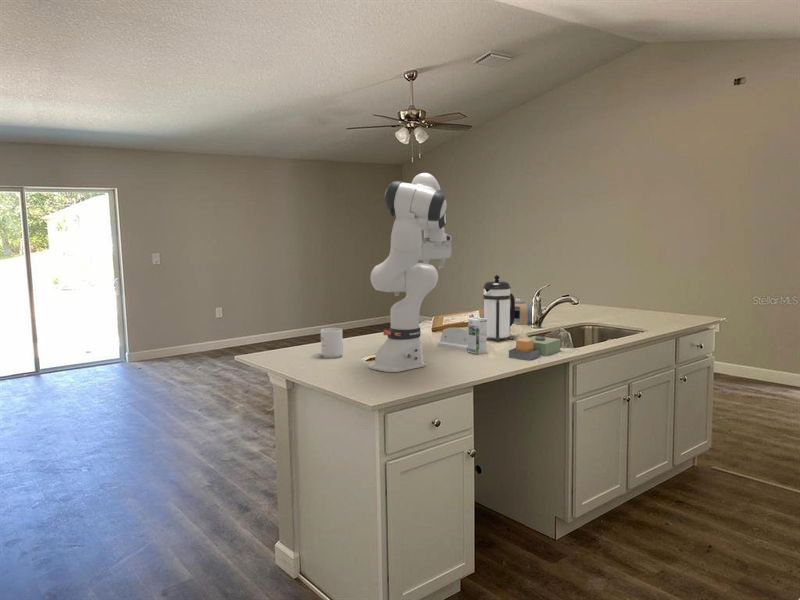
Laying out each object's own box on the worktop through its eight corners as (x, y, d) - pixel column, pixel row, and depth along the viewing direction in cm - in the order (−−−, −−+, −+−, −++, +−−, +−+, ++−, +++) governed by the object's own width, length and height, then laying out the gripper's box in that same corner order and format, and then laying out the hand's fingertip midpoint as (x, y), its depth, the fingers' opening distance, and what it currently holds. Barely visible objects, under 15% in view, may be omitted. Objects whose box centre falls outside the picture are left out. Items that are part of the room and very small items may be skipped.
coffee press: (515, 342, 273) (516, 276, 270) (479, 342, 276) (480, 276, 272) (514, 335, 290) (515, 273, 287) (480, 335, 293) (481, 273, 289)
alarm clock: (494, 323, 327) (494, 301, 325) (512, 319, 342) (513, 297, 340) (526, 327, 314) (526, 304, 313) (543, 322, 330) (544, 300, 328)
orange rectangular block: (527, 359, 240) (527, 341, 240) (515, 357, 244) (516, 340, 243) (533, 356, 244) (533, 339, 243) (522, 355, 247) (522, 338, 247)
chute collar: (529, 360, 237) (529, 353, 237) (508, 357, 243) (508, 350, 243) (540, 356, 244) (540, 349, 244) (520, 353, 250) (520, 346, 250)
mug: (347, 356, 249) (346, 329, 248) (328, 359, 244) (327, 332, 242) (331, 351, 258) (331, 326, 257) (313, 354, 253) (312, 328, 252)
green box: (545, 356, 245) (546, 341, 244) (519, 352, 253) (519, 338, 252) (560, 350, 255) (560, 336, 254) (534, 347, 262) (534, 333, 262)
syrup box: (467, 352, 254) (467, 318, 252) (477, 350, 258) (477, 316, 256) (477, 354, 250) (477, 319, 248) (487, 352, 253) (487, 318, 252)
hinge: (436, 346, 267) (440, 324, 268) (442, 348, 270) (447, 326, 271) (467, 351, 255) (471, 328, 257) (473, 353, 259) (477, 330, 260)
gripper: (425, 238, 250) (425, 271, 252) (453, 236, 265) (453, 268, 267) (413, 238, 254) (413, 270, 256) (442, 236, 269) (442, 267, 271)
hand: (434, 269), depth 262 cm, fingers open, 8 cm apart
